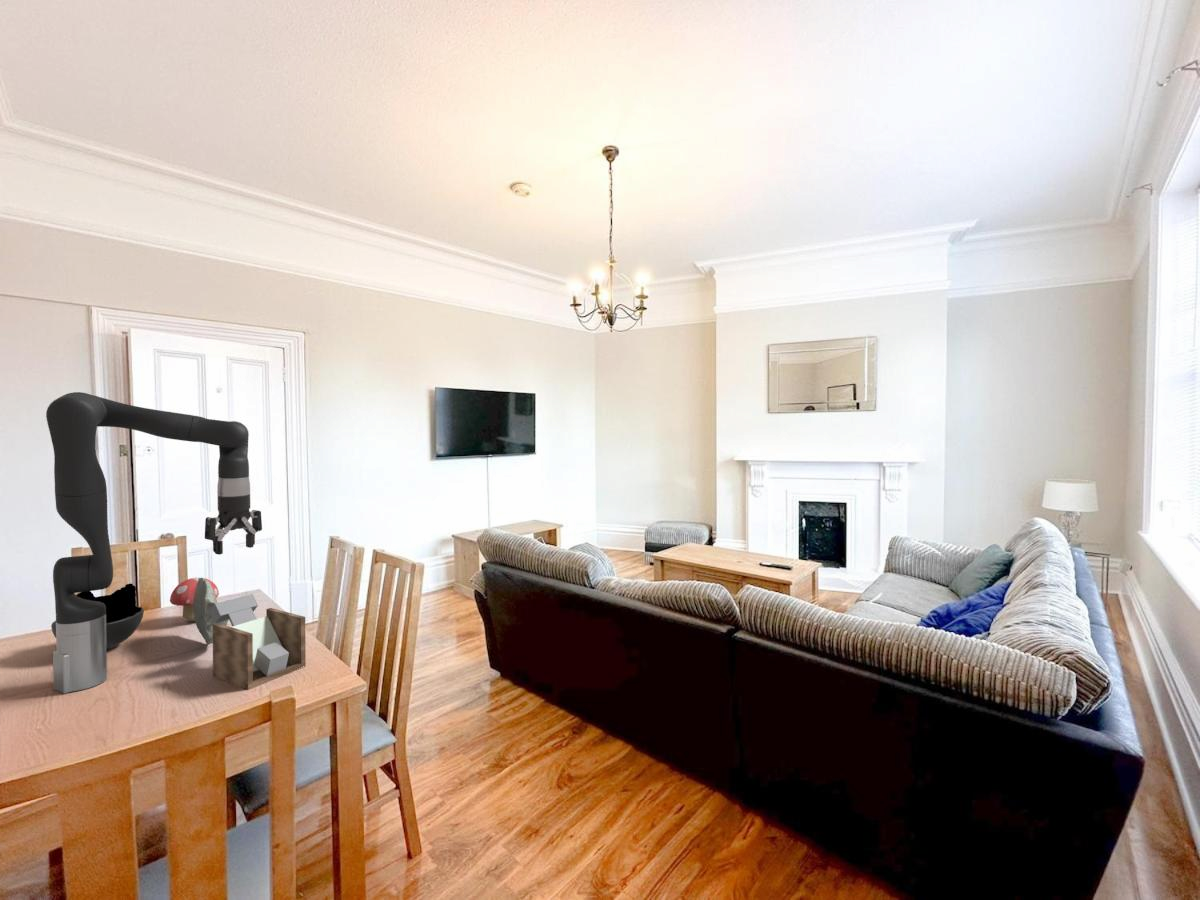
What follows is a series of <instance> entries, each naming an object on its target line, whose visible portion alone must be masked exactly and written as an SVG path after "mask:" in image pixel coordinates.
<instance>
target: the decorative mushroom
mask: <svg viewBox="0 0 1200 900" xmlns="http://www.w3.org/2000/svg"><path fill="white" fill-rule="evenodd" d="M199 578H200V577H191V578H189V579H185V580H184V581H181V582H180V583H179V584H177V585H176V587H175V588H174V589H173V591H172V593H171V594H170V597H169V603H170V604H171V605H174V606H177V607H178V606H179V607H181V606H182V618H183V619H185V620H186V621H188V622H192V623H193V622H195V620H194V610H193V600H194V594H195V590H196V586H197V583H198V580H199ZM203 578H204V579H205V580H207V581H209V582H210V583H211V586H212V588H213V591H214V594H215V597H216V599H218V597H219V595H220V594H219V593H220V592H219V591H220V590H219V589H218V587H217V585H216V584H215V583H214V582H213V581H212V580H210V579H208V578H206V577H203ZM195 623H196V622H195Z"/></svg>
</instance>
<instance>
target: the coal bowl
mask: <svg viewBox="0 0 1200 900" xmlns="http://www.w3.org/2000/svg"><path fill="white" fill-rule="evenodd" d="M136 590H137V587H136V586H135V585H134V583H126V584H125V586H122V587H120V589H116V590H115V591H113V593H111V594H106V595H100V596H94V594H93V592H92V591H86V592H78V593H77V594H75V595H76V596H78V597H80V598H82V599H86V600H90V601H97V602H102V603H104V604H105V606H106V644H107V650H108V649H111V648H113V647H115V646H118V645H120V644H121V643H123V642H125V641H126V640H127V639H129V638H130V637H131V636H132V635H133V634H134V633H135V632H136V631H137V629H138V627H139V626H140V624H141V622H142V620H143V617H144V613H145V612H144V611H145V610H144V608H143V607H142V606H138V605H137V597H136V596H137V592H136ZM50 626H51V631H52V634H53V636H54V638H55V639H56V620H54V621H53V622H52V623H51V625H50Z"/></svg>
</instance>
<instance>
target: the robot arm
mask: <svg viewBox="0 0 1200 900" xmlns="http://www.w3.org/2000/svg"><path fill="white" fill-rule="evenodd" d="M45 413H46V416H45V419H46V423H47V427H48V431H49V434H50V441H51V443H52V447H53V455H54V456H53V457H54V462H53V463H54V464H53V465H54V469H53V474H54V497H55V498H54V499H55V508H56V509H55V510H56V512H57V513H58V515H59V516H60V518H61V519H62V520H63V521H65V523H66V524H68V525H69V526H70V527H71V528H72V529H74V530H75V532H77V533H78V534H79V535H80V536H81V537H82V538H83V539H84V540H85V542H86V543H87V544H88V547H89V548H90V551H91V553H92V554H87V555H76V556H75V555H74V556H66V557H61V558H59V559H57V560H56V561H55V563H54V566H53V569H52V582H53V590H54V604H55V608H54V609H55V621H56V638H55V640H56V641H55V645H56V646H55V647H56V650H53V652H52V667H53V668H52V671H53V672H52V674H53V675H52V676H53V677H52V679H53V681H52V683H53V689H54V690H55V691H58V692H60V694H63V695H64V694H67V693H71V692H72V693H73V692H79V691H82V690H86V689H90V688H93V687H96V686H98V685H101V684H102V683H104V682H105V681H107V679H108V660H107V659H108V657H107V652H108V651H107V650H108V649H107V644H106V606H105V604H104V603H102V602H97V601H90V600H86V599H82V598H80V597H78V596H76V595H77V594H78V593H80V592H86V591H90V592H92V591H93V592H94V591H100V590H105V589H107V588H109V587H110V586H111V585H112V583H113V581H114V580H113V579H114V565H113V559H112V550H111V543H110V538H109V537H110V536H109V535H110V534H109V523H108V489H107V480H106V477H105V474H104V471H103V469H102V466H101V465H100V462H99V460H98V457H97V446H96V442H97V439H96V438H97V437H96V436H97V430H98V429H97V428H99V427H102V428H103V427H106V428H109V427H110V428H119V429H120V428H121V429H127V430H128V429H129V430H133V431H137V432H142V433H144V434H148V435H151V436H155V437H159V438H164V439H169V440H176V441H182V442H191V443H192V442H193V443H202V444H209V445H212V446H218V450H219V459H218V466H217V467H218V468H217V473H218V475H217V476H218V480H217V491H216V493H217V511H218V516H217V517H210V516H207V517H206V518H205V521H204V522H205V524H204V539H205V540H207V541H208V540H210V541H212V551H213V553H214V554H215V555H219V556H220V555H223V553H224V552H223V551H224V549H223V548H224V547H223V546H224V545H223V544H224V543H223V539H224V538H225V535H228V534H229V532H230V531H235V530H240V529H243V531H245V532H246V533H245V547H246V548H249V549H251V548H254V546H255V543H256V534H257V533H258V532H261V531H262V530H263V524H262V523H263V521H262V511H261V510H256V509H253V510H251V511H250V509H251V482H250V465H249V457H248V453H249V433H250V432H249V430H248V427H247V426H246V425H245V424H243V423H242V422H240V421H235V420H232V421H229V420H218V419H210V418H206V417H203V416H199V415H193V414H188V413H187V414H186V413H180V412H173V411H168V410H167V411H165V410H159V409H153V408H147V407H141V406H135V405H131V404H128V403H123V402H119V401H115V400H112V399H108V398H104V397H102V396H97V395H93V394H90V393H86V392H80V391H79V392H78V391H76V392H75V391H74V392H68V393H66V394H63V395H61V396H59V397H57V398H56V399H53V401H52V402H50V404H49V405H48V406H47V409H46V412H45ZM250 518H251V523H250V522H249V520H250ZM218 523H219V524H218ZM217 525H218V526H217ZM76 593H77V594H76Z"/></svg>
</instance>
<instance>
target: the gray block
mask: <svg viewBox="0 0 1200 900" xmlns="http://www.w3.org/2000/svg"><path fill="white" fill-rule="evenodd" d="M288 656H289V652H288V651H286V650H285V649H284V648H283V647H282V646H280V645H279V644H278V643H277V642H275V643H272V644H269V645H266V646H263V647H260V648H258V649H257V653H256V658H255V663H254V665H255V666H256V667H257V668H258V669H259V670H258V671H260V672H262V673H263V674H264V676H269V675H272V674H274V673H277V672H279V671H282V670H284V669H286V668H287V665H288V663H287V660H288Z"/></svg>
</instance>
